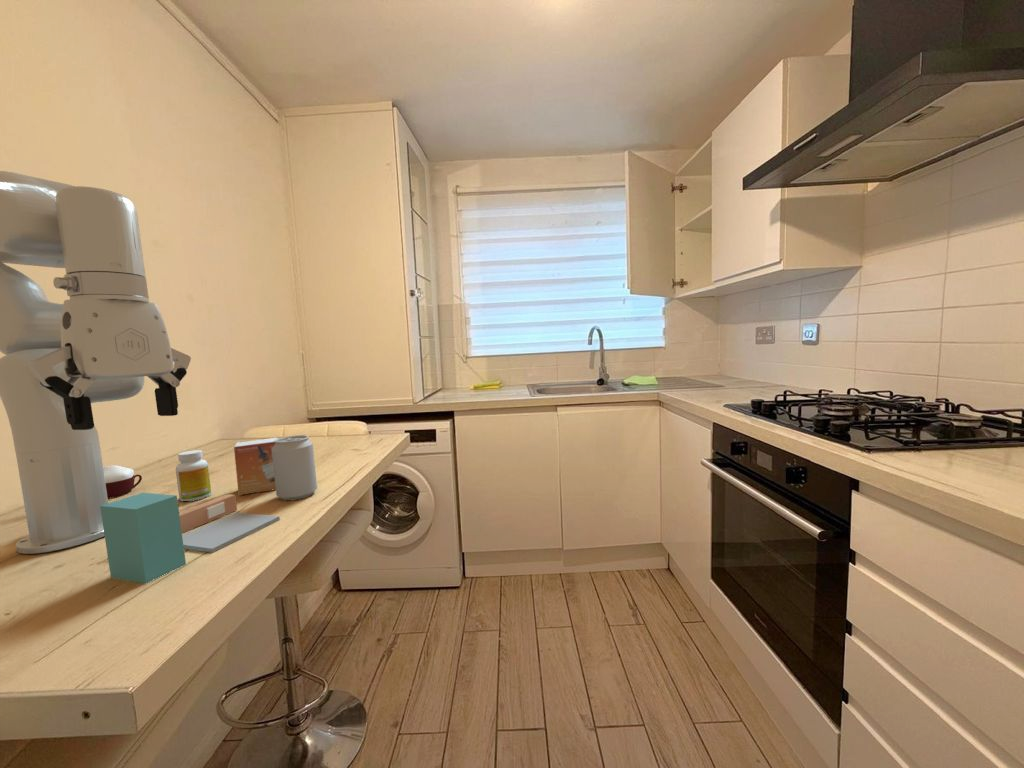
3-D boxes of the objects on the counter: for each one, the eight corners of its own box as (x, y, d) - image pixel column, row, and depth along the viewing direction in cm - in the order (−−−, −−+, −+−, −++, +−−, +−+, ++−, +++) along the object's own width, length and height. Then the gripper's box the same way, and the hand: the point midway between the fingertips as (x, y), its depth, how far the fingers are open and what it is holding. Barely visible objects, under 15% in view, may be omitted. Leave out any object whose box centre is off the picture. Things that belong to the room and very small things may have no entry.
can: (306, 501, 83) (300, 440, 82) (268, 503, 83) (262, 442, 82) (324, 488, 91) (318, 432, 90) (289, 490, 91) (283, 434, 90)
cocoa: (143, 488, 99) (139, 437, 99) (141, 494, 94) (137, 440, 94) (86, 497, 94) (81, 443, 93) (81, 504, 89) (76, 446, 88)
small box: (238, 496, 88) (232, 446, 87) (241, 489, 93) (235, 442, 92) (282, 488, 92) (276, 440, 91) (282, 482, 97) (277, 436, 96)
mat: (166, 546, 66) (165, 542, 66) (237, 515, 78) (236, 512, 78) (212, 552, 63) (212, 548, 63) (279, 519, 74) (279, 516, 74)
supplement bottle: (216, 495, 90) (210, 450, 89) (186, 504, 86) (180, 456, 85) (204, 491, 93) (199, 448, 92) (175, 500, 88) (169, 454, 88)
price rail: (131, 549, 66) (129, 530, 66) (229, 509, 81) (227, 494, 81) (141, 550, 65) (139, 531, 65) (238, 510, 80) (236, 494, 80)
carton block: (110, 577, 57) (100, 505, 57) (153, 558, 62) (144, 492, 61) (146, 583, 55) (135, 509, 54) (187, 563, 60) (178, 494, 59)
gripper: (36, 279, 46) (61, 436, 47) (198, 294, 62) (212, 411, 64) (-4, 287, 48) (21, 436, 50) (162, 299, 65) (177, 411, 66)
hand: (129, 421), depth 57 cm, fingers open, 9 cm apart
